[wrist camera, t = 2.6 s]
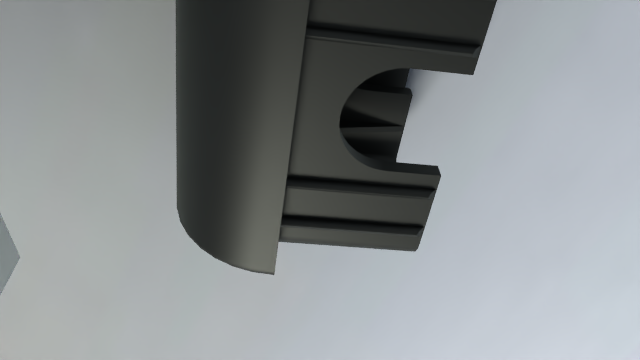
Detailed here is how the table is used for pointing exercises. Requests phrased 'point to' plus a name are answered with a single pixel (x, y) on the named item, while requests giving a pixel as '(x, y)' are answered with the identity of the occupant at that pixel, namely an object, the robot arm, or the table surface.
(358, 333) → the table surface
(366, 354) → the table surface
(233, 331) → the table surface
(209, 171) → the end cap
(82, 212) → the table surface
